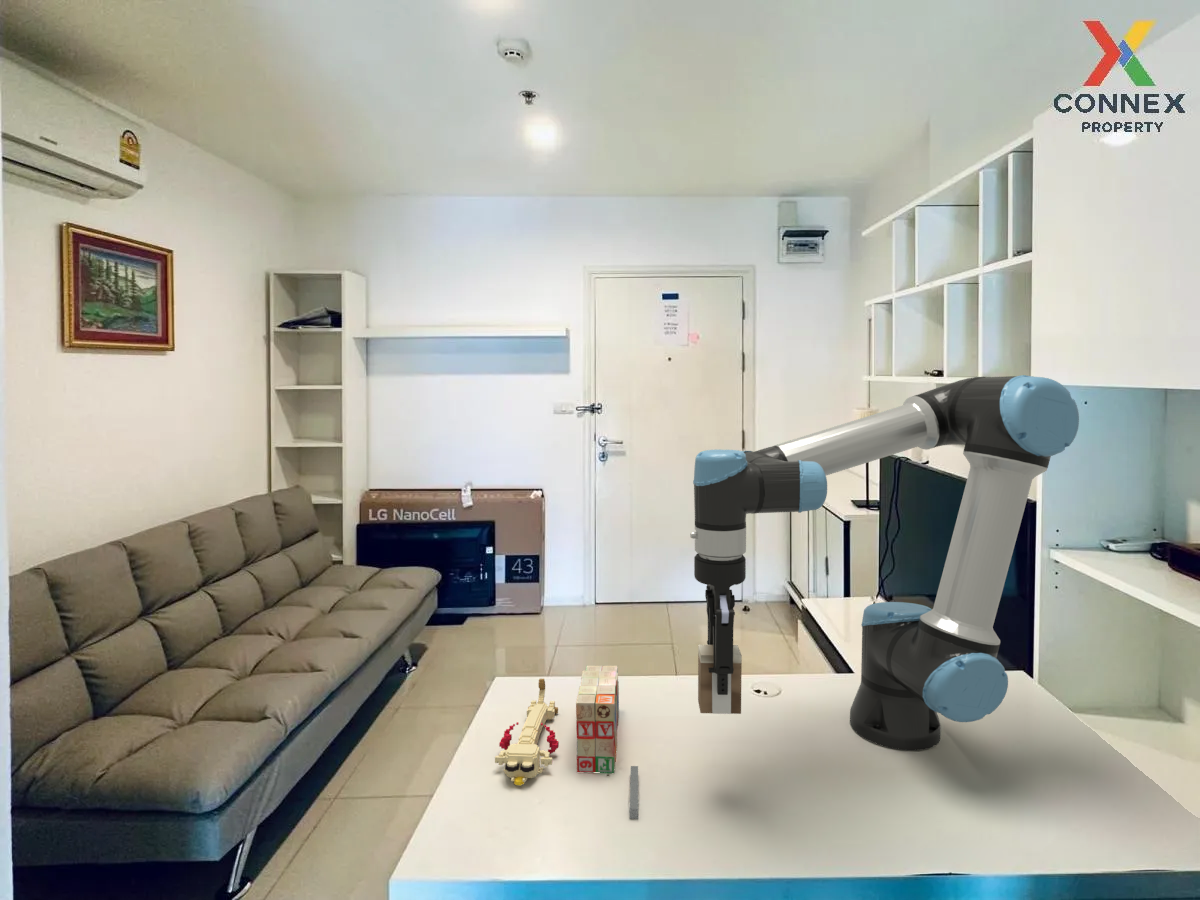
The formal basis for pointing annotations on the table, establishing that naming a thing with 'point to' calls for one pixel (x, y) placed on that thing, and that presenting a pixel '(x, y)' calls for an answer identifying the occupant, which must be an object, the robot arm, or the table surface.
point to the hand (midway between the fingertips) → (719, 704)
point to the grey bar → (634, 792)
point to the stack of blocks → (597, 719)
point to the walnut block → (706, 679)
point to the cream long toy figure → (529, 742)
